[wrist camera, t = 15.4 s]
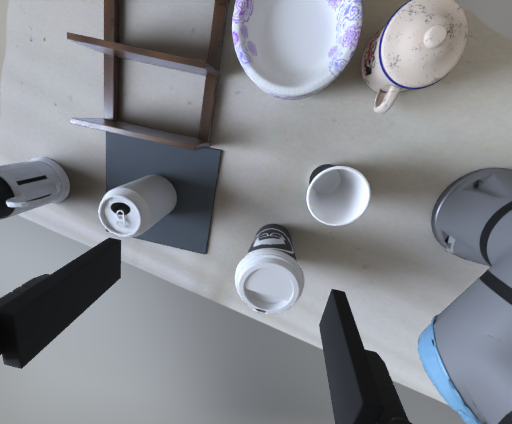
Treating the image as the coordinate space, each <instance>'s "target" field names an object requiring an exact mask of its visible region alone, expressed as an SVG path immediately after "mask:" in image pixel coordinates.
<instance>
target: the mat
mask: <svg viewBox="0 0 512 424" xmlns="http://www.w3.org/2000/svg"><path fill="white" fill-rule="evenodd" d="M220 158H221V150H217V149H212V148H208V147H205V148H202V149H199V150H196V151H193V150H188V149H184V148H179V147H175V146H170V145H166V144H161V143H157V142H152V141H148V140H143V139H139V138H134V137H130V136H125V135H121V134H116V133H112V132H107V131H106V193H107V192H108V191H110V190H112V189H114V188H116V187H119V186H122V185H124V184H127V183H129V182H132V181H135V180H137V179H140V178H142V177H145V176H148V175H159V176H162V177H164V178H166V179H167V180H168V181H169V182H170V183H171V184H172V185H173V187H174V189H175V190H176V195H177V202H176V205H175V207H174V209H173V210H172V211H171V212H170V213H168V214H167V215H166V216H165V217H163V218H162V219H161V220H160V221H158V222H157V223H156V224H154V225H153V226H152V227H151V228H149V229H148V230H147V231H146V232H144V233H143V234H141V235H138V236H134V237H133V238H137V239H141V240H146V241H150V242H154V243H158V244H163V245H167V246H171V247H176V248H180V249H184V250H188V251H193V252H197V253H201V254H206V249H207V242H208V236H209V229H210V223H211V216H212V210H213V203H214V197H215V190H216V184H217V177H218V171H219V164H220ZM106 231H107V232H109V231H108V230H107V229H106Z"/></svg>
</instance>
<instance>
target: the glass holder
mask: <svg viewBox="0 0 512 424" xmlns="http://www.w3.org/2000/svg"><path fill="white" fill-rule="evenodd" d="M69 191H70V183H69V179H68V176H67V174H66V173H65V171H64V170H63V168H62V167H61V166H60V165H59V164H58V163H56V162H55V161H53V160H51V159H49V158H45V157H37V158H34V159H32V160H30V161H28V162H21V163H15V164H8V165H1V166H0V219H4V218H7V217H10V216H13V215H16V214H19V213H22V212H25V211H28V210H31V209H34V208H36V207H39V206H42V205H45V204H48V203H58V202H61V201H63V200H64V199H66V197H67V196H68V194H69Z"/></svg>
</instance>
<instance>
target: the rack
mask: <svg viewBox="0 0 512 424" xmlns="http://www.w3.org/2000/svg"><path fill="white" fill-rule="evenodd" d="M228 3H229V0H215V6H214V14H213V22H212V31H211V39H210V47H209V56H208V63H206V62H205V61H201V60H196V59H191V58H187V57H182V56H177V55H172V54H168V53H163V52H158V51H153V50H149V49H144V48H139V47H134V46H130V45H125V44H120V43H119V0H104V40H101V39H96V38H92V37H87V36H82V35H78V34H73V33H68V32H67V39H68V40H70V41H73V42H75V43H78V44H80V45H83V46H86V47H88V48H91V49H93V50H96V51H98V52H101V53H104V119H101V118H71V124H75V125H80V126H84V127H89V128H93V129H98V130H103V131H107V132H112V133H116V134H121V135H125V136H130V137H134V138H139V139H143V140H148V141H152V142H157V143H161V144H166V145H170V146H175V147H179V148H184V149H188V150H193V151H196V150H199V149H202V148H205V147H209V146H210V144H211V141H210V136H211V128H212V121H213V113H214V106H215V99H216V91H217V84H218V79H219V78H220V73H219V69H220V62H221V55H222V47H223V40H224V32H225V25H226V18H227V10H228ZM118 57H119V58H124V59H128V60H133V61H138V62H143V63H147V64H152V65H157V66H161V67H166V68H171V69H176V70H180V71H185V72H190V73H194V74H199V75H204V76H206V80H205V89H204V97H203V105H202V114H201V122H200V130H199V138H193V137H189V136H184V135H180V134H175V133H170V132H166V131H161V130H157V129H152V128H148V127H143V126H139V125H134V124H130V123H125V122H120V121H118Z"/></svg>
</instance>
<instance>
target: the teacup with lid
mask: <svg viewBox="0 0 512 424" xmlns="http://www.w3.org/2000/svg"><path fill="white" fill-rule="evenodd" d="M467 39H468V22H467V18H466V15H465V12H464V11H463V9H462V7H461V6H460V5H459V4H458V3H457V2H456V1H455V0H410V1H409V2H407V3H405V4H404V5H403V6H401V7H400V8H399V9H398V10H397V11H396V12H395V13H394V14H393V16H392V17H391V18H390V19H389V21H388V23H387V24H386V25H385V26H384V27H383V28H382V29H381V30H380V31H378V32H377V33H376V34H375V35H374V36H373V37H372V39H371V40H370V41H369V43H368V44H367V46H366V48H365V50H364V53H363V56H362V61H361V71H362V75H363V78H364V80H365V82H366V83H367V85H368V86H369V87H370V88H371V89H373V90H374V91H376V92H378V94H377V96H376V99H375V102H374V110H375V112H377V113H380V114H383V113H385V112H387V111H388V110H389V109H390V107H391V106H392V105H393V103H394V101H395V100H396V98H397V96H398V94H399V92H402V91H405V90H409V89H421V88H425V87H428V86H430V85H433V84H435V83H437V82H438V81H440V80H441V79H443V78H444V77H445V76H446V75H447V74H448V73H449V72H450V71H451V70H452V69H453V68H454V67H455V66H456V64H457V63H458V61H459V60H460V58H461V56H462V54H463V52H464V50H465V47H466V43H467Z"/></svg>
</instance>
